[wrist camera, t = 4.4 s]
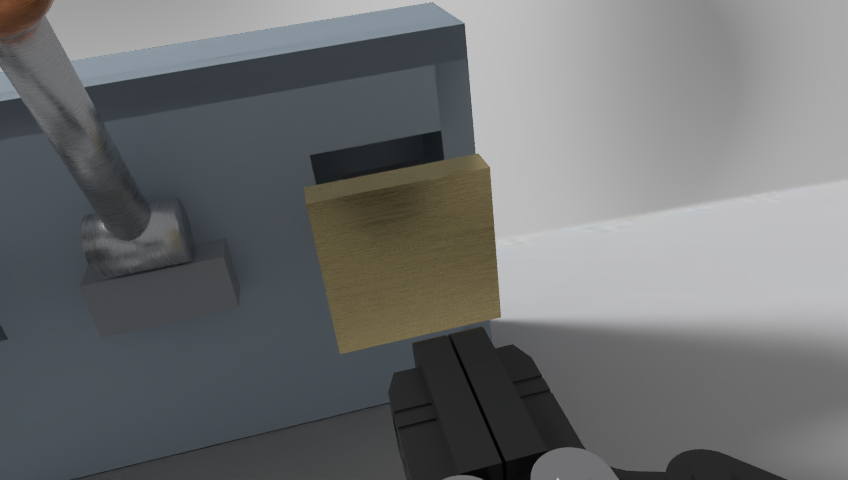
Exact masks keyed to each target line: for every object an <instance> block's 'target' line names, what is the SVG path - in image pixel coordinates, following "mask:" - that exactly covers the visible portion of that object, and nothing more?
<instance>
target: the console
mask: <svg viewBox="0 0 848 480" xmlns="http://www.w3.org/2000/svg"><path fill="white" fill-rule="evenodd" d="M70 62H71V64H72V66H73V68H74V70H75V71H76V73H77V75H78V77H79V79H80V81H81V82H82V84H83V86H84V88H85V90H86V92H87V93H88V95H89V97H90V99H91V101H92V103H93V104H94V106H95V108H96V110H97V112H98V114H99V115H100V117H101V119H102V121H103V123H104V125H105V127H106V128H107V130H108V132H109V134H110V136H111V138H112V139H113V141H114V143H115V145H116V147H117V149H118V150H119V152H120V154H121V156H122V158H123V160H124V161H125V163H126V165H127V167H128V169H129V171H130V172H131V174H132V176H133V178H134V180H135V182H136V183H137V185H138V187H139V189H140V191H141V193H142V195H143V196H144V198H145V200H146V202H147V203H150V202H155V201H160V200H166V199H171V198H176V197H178V198H179V199H180V200H181V202H182V204H183V206H184V208H185V211H186V213H187V216H188V220H189V223H190V227H191V232H192V237H193V245H194V256H193V260H192V261H188V262H183V263H178V264H173V265H168V266H163V267H158V268H154V269H149V270H144V271H139V272H134V273H129V274H124V275H119V276H114V277H110V278H105V279H99V278H97V277H96V276H95V275H94V273H93V272H92V270H91V269H90V267H89V265H88V262H87V260H86V257H85V254H84V250H83V246H82V240H81V223H82V219H83V217H84V216H85V215H87V214H93V213H96V212H95V211H94V209H93V208H92V206H91V205H90V203H89V202H88V200H87V199H86V197H85V196H84V194H83V193H82V191H81V189H80V188H79V186H78V185H77V183H76V182H75V180H74V179H73V177H72V176H71V174H70V173H69V171H68V170H67V168H66V166H65V165H64V163H63V162H62V160H61V159H60V157H59V156H58V154H57V153H56V151H55V150H54V148H53V147H52V145H51V143H50V142H49V140H48V139H47V137H46V136H45V134H44V133H43V131H42V130H41V128H40V127H39V125H38V124H37V122H36V121H35V119H34V117H33V116H32V114H31V113H30V111H29V110H28V108H27V107H26V105H25V104H24V102H23V101H22V99H21V98H20V96H19V94H18V93H17V91H16V90H15V88H14V87H13V85H12V84H11V82H10V81H9V79H8V78H7V76H6V75H5V73H4V72H0V480H71V479H75V478H79V477H83V476H88V475H92V474H96V473H100V472H104V471H108V470H112V469H116V468H121V467H125V466H129V465H133V464H137V463H141V462H145V461H150V460H154V459H158V458H162V457H166V456H170V455H174V454H178V453H183V452H187V451H191V450H195V449H199V448H203V447H207V446H211V445H216V444H220V443H224V442H228V441H232V440H236V439H240V438H245V437H249V436H253V435H257V434H261V433H265V432H269V431H273V430H278V429H282V428H286V427H290V426H294V425H298V424H302V423H306V422H311V421H315V420H319V419H323V418H327V417H331V416H335V415H340V414H344V413H348V412H352V411H356V410H360V409H364V408H368V407H373V406H377V405H381V404H385V403H389V402H390V400H389V394H388V391H389V388H390V384H391V381H392V377H393V374H394V373H396V372H400V371H404V370H408V369H412V368H415V362H414V355H413V348H412V343H413V342H418V341H422V340H426V339H431V338H435V337H439V336H443V335H447V336H448V334H451V333H456V332H460V331H464V330H469V329H473V328H477V327H483V328H484V329H485V331H486V332H487V334H488V336H489V338H490V340H491V331H490V320H487V321H482V322H478V323H474V324H469V325H465V326H461V327H456V328H452V329H448V330H443V331H439V332H435V333H430V334H426V335H422V336H417V337H413V338H408V339H404V340H400V341H395V342H391V343H387V344H382V345H378V346H374V347H369V348H365V349H361V350H356V351H352V352H348V353H343V354H340V352H339V348H338V344H337V339H336V335H335V330H334V326H333V321H332V317H331V312H330V308H329V304H328V299H327V295H326V290H325V286H324V281H323V277H322V272H321V268H320V264H319V259H318V255H317V250H316V246H315V241H314V237H313V233H312V228H311V224H310V219H309V215H308V210H307V206H306V200H305V194H304V187H309V186H314V185H319V184H324V183H329V182H335V181H340V180H342V176H341V175H344V174H349V173H354V172H359V171H364V170H369V169H375V168H380V167H385V166H390V165H395V164H400V163H405V162H411V161H416V160H419V161H420V163H421V165H422V164H427V163H432V162H437V161H442V160H447V159H453V158H458V157H463V156H468V155H473V154H475V142H474V130H473V118H472V108H471V107H472V106H471V95H470V83H469V71H468V59H467V47H466V35H465V25H464V23H463V22H462V21H460V20H459V19H457V18H456V17H454V16H452V15H451V14H449V13H448V12H446V11H445V10H443V9H442V8H440V7H439V6H437V5H436V4H434V3H433V2H432V3H425V4H419V5H413V6H407V7H401V8H395V9H388V10H382V11H376V12H370V13H364V14H358V15H352V16H345V17H339V18H333V19H327V20H320V21H315V22H308V23H302V24H296V25H290V26H284V27H277V28H271V29H265V30H259V31H253V32H246V33H240V34H234V35H228V36H222V37H216V38H210V39H203V40H197V41H191V42H185V43H179V44H172V45H166V46H160V47H154V48H148V49H141V50H135V51H129V52H123V53H117V54H111V55H104V56H98V57H92V58H86V59H80V60H74V61H70Z"/></svg>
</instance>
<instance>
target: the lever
mask: <svg viewBox="0 0 848 480" xmlns="http://www.w3.org/2000/svg"><path fill="white" fill-rule="evenodd" d="M53 1H54V0H0V67H1V68H2V70H3V72H4V73H5V75H6V76H7V78H8V79H9V81H10V82H11V84H12V85H13V87H14V88H15V90H16V91H17V93H18V94H19V96H20V98H21V99H22V101H23V102H24V104H25V105H26V107H27V108H28V110H29V111H30V113H31V114H32V116H33V117H34V119H35V121H36V122H37V124H38V125H39V127H40V128H41V130H42V131H43V133H44V134H45V136H46V137H47V139H48V140H49V142H50V143H51V145H52V147H53V148H54V150H55V151H56V153H57V154H58V156H59V157H60V159H61V160H62V162H63V163H64V165H65V166H66V168H67V170H68V171H69V173H70V174H71V176H72V177H73V179H74V180H75V182H76V183H77V185H78V186H79V188H80V189H81V191H82V193H83V194H84V196H85V197H86V199H87V200H88V202H89V203H90V205H91V206H92V208H93V209H94V211H95V212H96V213H93V214H87V215H85V216H84V217H83V219H82V223H81V240H82V246H83V250H84V254H85V257H86V260H87V262H88V265H89V267H90V269H91V270H92V272H93V273H94V275H95V276H96V277H97V278H99V279H105V278H110V277H114V276H119V275H124V274H129V273H134V272H139V271H144V270H149V269H154V268H158V267H163V266H168V265H173V264H178V263H183V262H188V261H192V260H193V256H194V245H193V237H192V232H191V227H190V223H189V220H188V216H187V213H186V211H185V208H184V206H183V204H182V202H181V200H180V199H179V198H178V197H176V198H171V199H166V200H160V201H155V202H150V203H147V202H146V200H145V198H144V196H143V195H142V193H141V191H140V189H139V187H138V185H137V183H136V182H135V180H134V178H133V176H132V174H131V172H130V171H129V169H128V167H127V165H126V163H125V161H124V160H123V158H122V156H121V154H120V152H119V150H118V149H117V147H116V145H115V143H114V141H113V139H112V138H111V136H110V134H109V132H108V130H107V128H106V127H105V125H104V123H103V121H102V119H101V117H100V115H99V114H98V112H97V110H96V108H95V106H94V104H93V103H92V101H91V99H90V97H89V95H88V93H87V92H86V90H85V88H84V86H83V84H82V82H81V81H80V79H79V77H78V75H77V73H76V71H75V70H74V68H73V66H72V64H71V62H70V60H69V59H68V57H67V55H66V53H65V51H64V49H63V48H62V46H61V44H60V42H59V40H58V39H57V37H56V35H55V33H54V31H53V29H52V27H51V25H50V24H49V22H48V20H47V18H46V16H45V15H46V13H47V12H48V11H49V9H50V8H51V6H52V4H53Z"/></svg>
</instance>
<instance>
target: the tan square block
mask: <svg viewBox="0 0 848 480" xmlns="http://www.w3.org/2000/svg"><path fill="white" fill-rule="evenodd" d="M341 176H342V180H340V181H335V182H329V183H324V184H319V185H314V186H309V187H304V194H305V200H306V206H307V210H308V215H309V219H310V224H311V228H312V233H313V237H314V241H315V246H316V250H317V255H318V259H319V264H320V268H321V272H322V277H323V281H324V286H325V290H326V295H327V299H328V304H329V308H330V312H331V317H332V321H333V326H334V330H335V335H336V339H337V344H338V348H339V352H340V354H343V353H348V352H352V351H356V350H361V349H365V348H369V347H374V346H378V345H382V344H387V343H391V342H395V341H400V340H404V339H408V338H413V337H417V336H422V335H426V334H430V333H435V332H439V331H443V330H448V329H452V328H456V327H461V326H465V325H469V324H474V323H478V322H482V321H487V320H491V319H495V318H500V317H501V313H500V299H499V286H498V272H497V259H496V245H495V232H494V218H493V205H492V191H491V178H490V167H489V166H488V165H487V163H486V162H485V161H484V160H483V159H482V157H481V156H480V155H479V154H473V155H468V156H463V157H458V158H453V159H447V160H442V161H437V162H432V163H427V164H422V165H421V163H420V161H419V160H416V161H411V162H405V163H400V164H395V165H390V166H385V167H380V168H375V169H369V170H364V171H359V172H354V173H349V174H344V175H341Z"/></svg>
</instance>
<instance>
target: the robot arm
mask: <svg viewBox="0 0 848 480" xmlns="http://www.w3.org/2000/svg"><path fill="white" fill-rule="evenodd" d="M412 348H413V355H414V362H415V368H412V369H408V370H404V371H400V372H396V373H394V374H393V377H392V381H391V384H390V388H389V391H388V394H389V400H390V405H391V411H392V416H393V422H394V427H395V432H396V438H397V443H398V448H399V452H400V456H401V460H402V463H403V467H404V471H405V475H406V479H407V480H786V479H784V478H782V477H779V476H777V475H774V474H772V473H769V472H767V471H764V470H762V469H760V468H757V467H755V466H752V465H750V464H747V463H745V462H743V461H740V460H738V459H735V458H733V457H730V456H728V455H725V454H723V453H720V452H716V451H712V450H704V449H698V450H690V451H686V452H683V453H681V454H679V455H677V456H676V457H674V458H673V459H672V460H671V462H670V463H669V464H668V467H667V469H666V472H638V471H625V470H620V469H616V468H613V467H610V466H609V465H608V464H607V463H606V462H605V461H604V460H603V459H602V458H601V457H599V456H597V455H596V454H594V453H592V452H590V451H587V450H586V449H585V448H584V446H583V445H582V443H581V441H580V440H579V438H578V436H577V435H576V433H575V431H574V430H573V428H572V426H571V424H570V423H569V421H568V419H567V418H566V416H565V414H564V412H563V411H562V409H561V407H560V406H559V404H558V402H557V401H556V399H555V397H554V395H553V394H552V393H551V392H550V389H549V387H548V385H547V383H546V382H545V380H544V379H542V375H541V373H540V372H539V370H538V368H537V366H536V365H535V363H534V361H533V360H532V358H531V357H530V356H528V355H527V354H526V353H524V352H523V351H521V350H520V349H518V348H517V347H516V346H514V345H508V346H504V347H500V348H496V349H495V348H494V346H493V344H492V342H491V340H490V338H489V336H488V334H487V332H486V331H485V329H484V328H483V327H477V328H473V329H469V330H464V331H460V332H456V333H451V334H448V336H447V335H443V336H439V337H435V338H431V339H426V340H422V341H418V342H413V343H412Z"/></svg>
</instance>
